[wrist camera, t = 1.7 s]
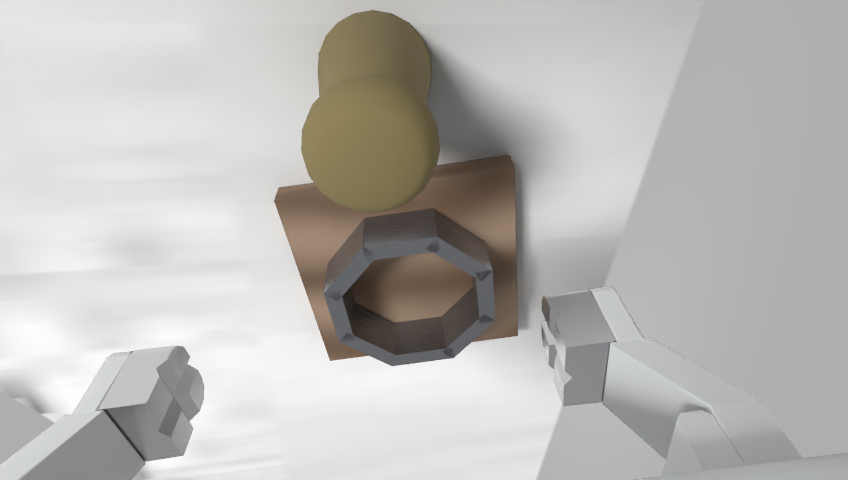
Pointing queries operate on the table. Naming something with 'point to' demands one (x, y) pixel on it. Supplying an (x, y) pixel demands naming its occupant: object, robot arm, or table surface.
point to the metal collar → (415, 336)
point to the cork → (372, 115)
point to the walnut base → (415, 274)
